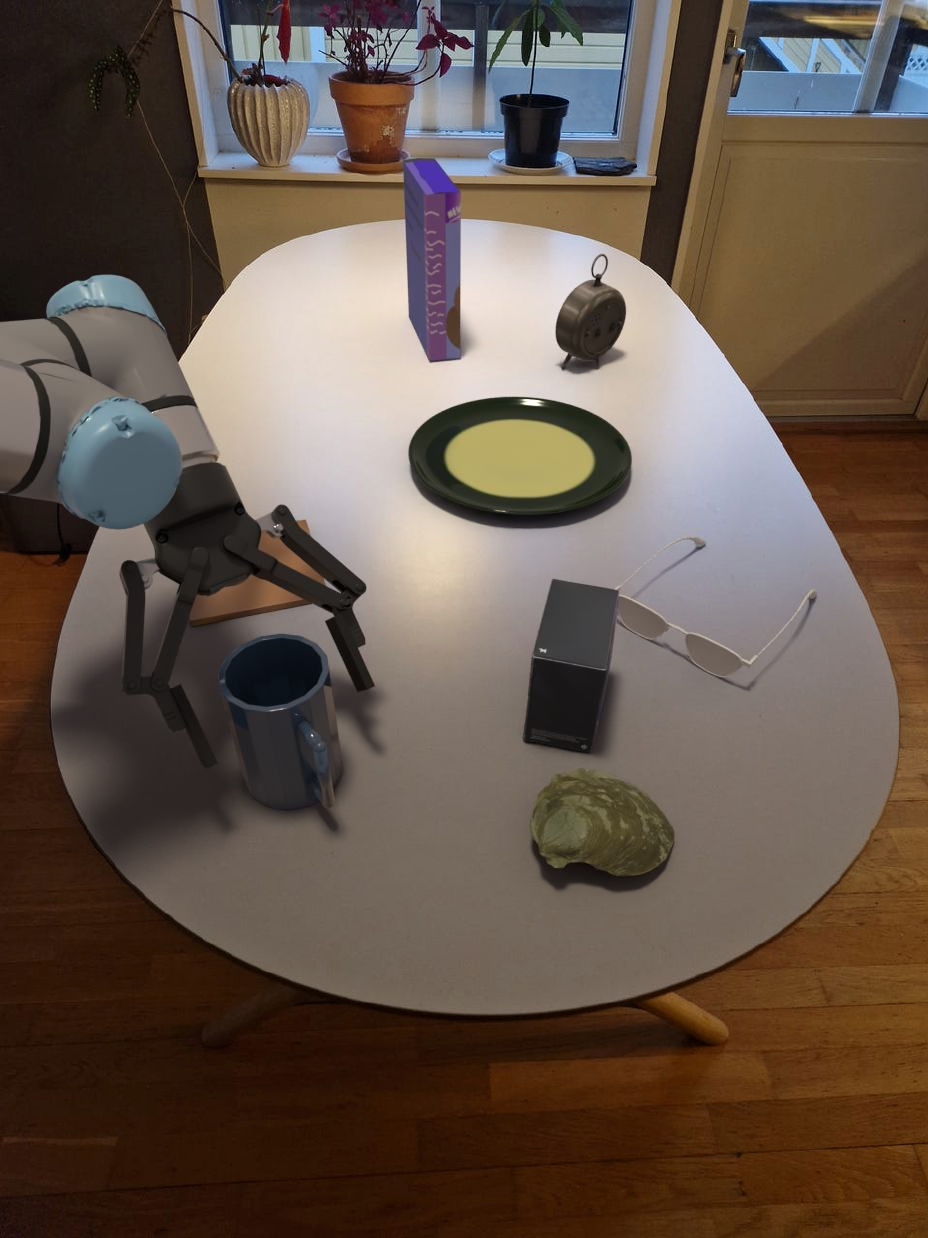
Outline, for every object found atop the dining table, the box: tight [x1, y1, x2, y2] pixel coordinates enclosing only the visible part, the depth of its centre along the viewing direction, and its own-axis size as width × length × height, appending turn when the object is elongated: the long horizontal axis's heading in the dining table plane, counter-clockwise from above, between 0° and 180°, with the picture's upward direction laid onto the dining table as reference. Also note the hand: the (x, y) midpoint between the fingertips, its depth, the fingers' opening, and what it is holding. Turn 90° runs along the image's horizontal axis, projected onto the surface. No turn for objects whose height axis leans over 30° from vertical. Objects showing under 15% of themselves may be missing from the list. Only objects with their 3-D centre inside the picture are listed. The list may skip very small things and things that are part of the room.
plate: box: [407, 396, 633, 516], centre depth 109 cm, size 28×28×2 cm
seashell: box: [529, 767, 676, 877], centre depth 67 cm, size 10×7×10 cm
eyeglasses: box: [614, 535, 818, 679], centre depth 88 cm, size 15×18×4 cm
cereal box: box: [402, 157, 462, 363], centre depth 130 cm, size 17×5×24 cm, turn 13°
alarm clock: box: [555, 253, 627, 370], centre depth 126 cm, size 11×5×16 cm, turn 129°
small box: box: [522, 578, 620, 753], centre depth 75 cm, size 11×6×10 cm, turn 167°
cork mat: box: [189, 518, 327, 627], centre depth 93 cm, size 14×14×1 cm
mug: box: [218, 633, 343, 811], centre depth 68 cm, size 11×8×12 cm
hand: (292, 726), depth 68 cm, fingers open, 13 cm apart
